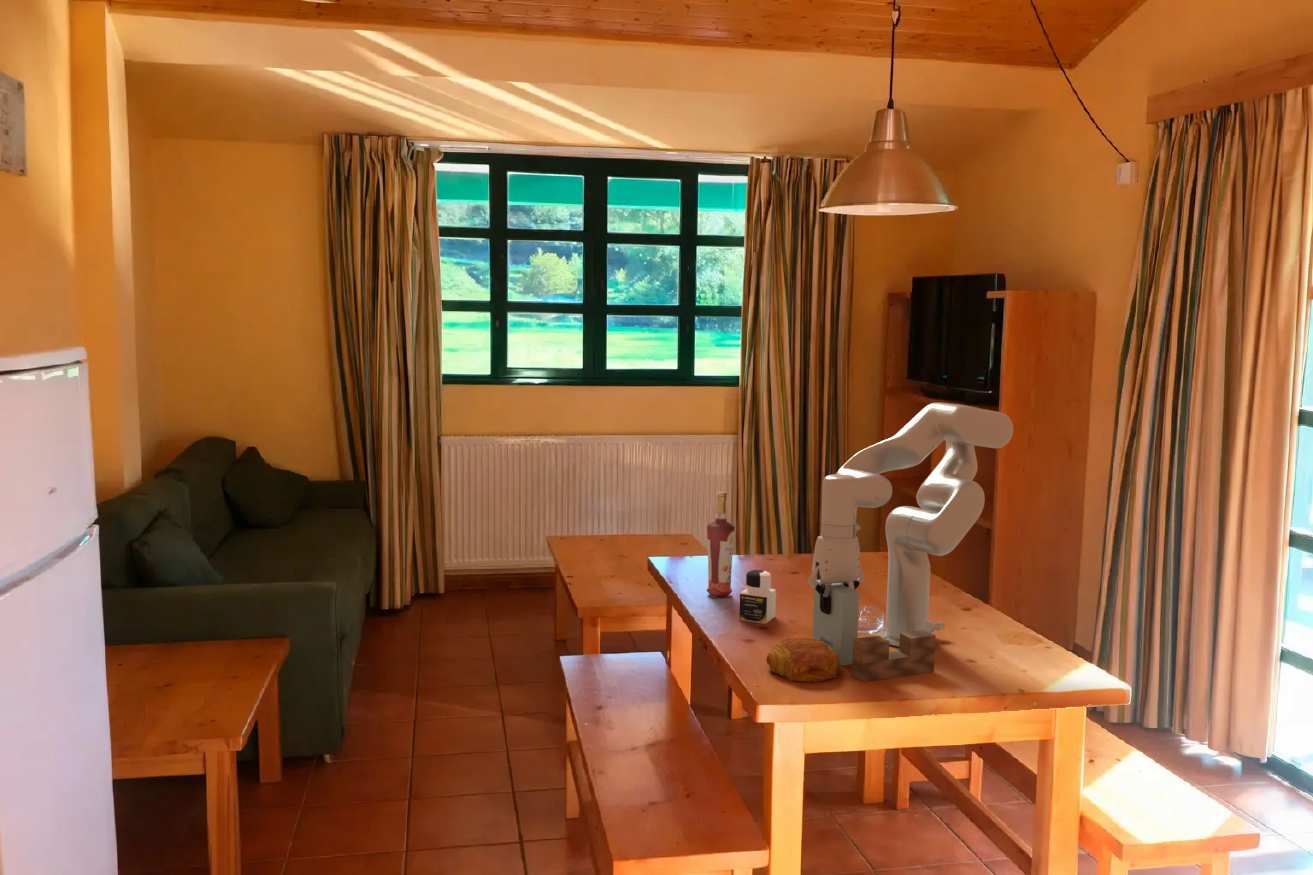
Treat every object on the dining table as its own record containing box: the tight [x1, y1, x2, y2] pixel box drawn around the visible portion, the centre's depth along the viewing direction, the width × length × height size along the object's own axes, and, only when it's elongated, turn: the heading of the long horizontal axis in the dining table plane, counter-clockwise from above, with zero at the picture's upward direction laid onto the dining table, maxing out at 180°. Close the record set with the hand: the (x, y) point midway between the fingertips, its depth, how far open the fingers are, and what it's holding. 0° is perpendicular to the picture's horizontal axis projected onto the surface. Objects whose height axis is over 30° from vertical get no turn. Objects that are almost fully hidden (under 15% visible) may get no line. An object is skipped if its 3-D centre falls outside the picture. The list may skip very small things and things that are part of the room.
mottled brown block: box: [851, 630, 937, 683], centre depth 224 cm, size 18×4×8 cm, turn 112°
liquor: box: [706, 491, 735, 599], centre depth 281 cm, size 7×7×28 cm
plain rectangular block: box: [812, 579, 860, 667], centre depth 234 cm, size 12×4×16 cm, turn 22°
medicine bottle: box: [738, 569, 777, 625], centre depth 262 cm, size 7×7×12 cm
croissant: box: [765, 637, 840, 683], centre depth 224 cm, size 14×16×8 cm
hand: (835, 610), depth 234 cm, fingers open, 4 cm apart
